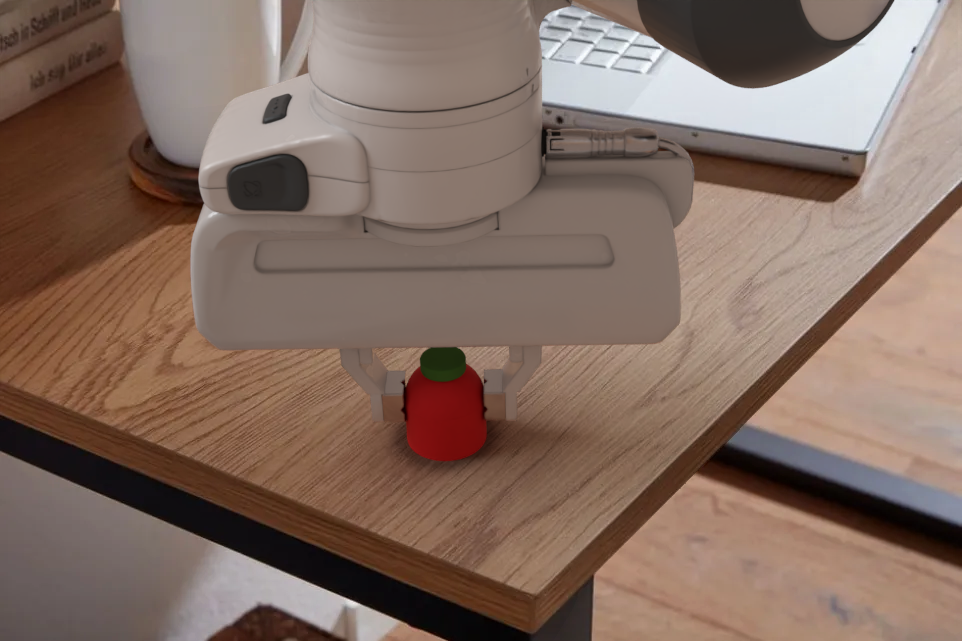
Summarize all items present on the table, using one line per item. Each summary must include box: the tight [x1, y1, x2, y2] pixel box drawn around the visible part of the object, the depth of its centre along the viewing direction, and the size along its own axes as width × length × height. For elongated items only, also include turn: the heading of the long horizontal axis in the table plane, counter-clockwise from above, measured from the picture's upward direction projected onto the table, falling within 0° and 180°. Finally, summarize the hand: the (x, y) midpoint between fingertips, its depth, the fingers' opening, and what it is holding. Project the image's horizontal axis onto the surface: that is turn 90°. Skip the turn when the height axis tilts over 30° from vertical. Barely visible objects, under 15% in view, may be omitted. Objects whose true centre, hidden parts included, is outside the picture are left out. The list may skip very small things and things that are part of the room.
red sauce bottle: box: [405, 347, 488, 462], centre depth 59 cm, size 4×4×5 cm
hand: (445, 413), depth 60 cm, fingers closed on red sauce bottle, 3 cm apart
